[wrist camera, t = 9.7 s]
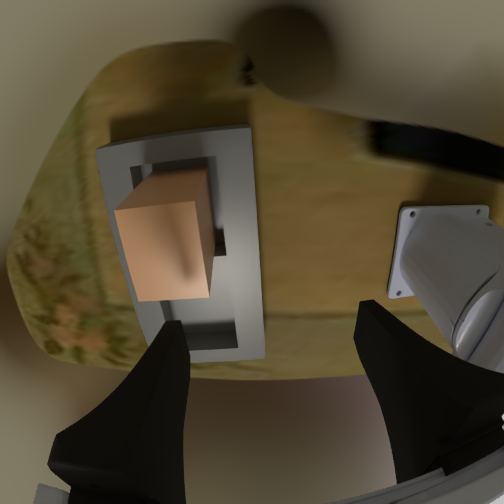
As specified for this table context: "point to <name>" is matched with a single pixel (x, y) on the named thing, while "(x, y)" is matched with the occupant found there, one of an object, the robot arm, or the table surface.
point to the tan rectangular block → (169, 234)
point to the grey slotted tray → (227, 237)
